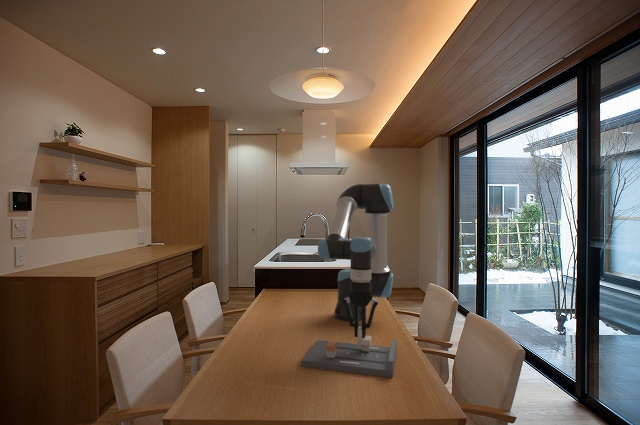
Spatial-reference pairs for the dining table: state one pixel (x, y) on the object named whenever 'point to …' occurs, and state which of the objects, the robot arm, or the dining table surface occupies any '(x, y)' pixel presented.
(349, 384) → the dining table surface
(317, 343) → the console
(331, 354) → the fader
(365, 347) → the fader
